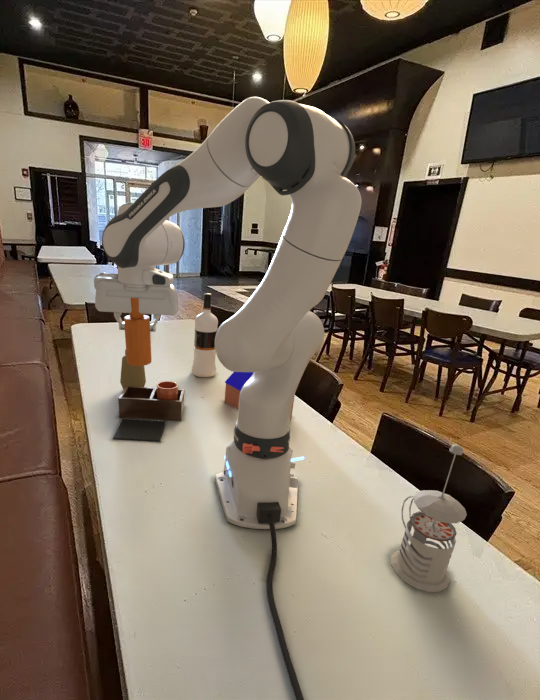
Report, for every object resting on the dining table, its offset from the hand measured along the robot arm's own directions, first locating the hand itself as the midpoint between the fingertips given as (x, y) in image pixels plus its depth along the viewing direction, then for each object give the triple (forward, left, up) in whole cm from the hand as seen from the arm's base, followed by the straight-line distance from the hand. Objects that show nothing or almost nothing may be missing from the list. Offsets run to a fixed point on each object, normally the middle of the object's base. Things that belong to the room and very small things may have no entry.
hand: (138, 330), depth 106 cm
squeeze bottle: (+21, +6, -27) cm, 34 cm away
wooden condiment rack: (+7, -3, -27) cm, 27 cm away
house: (+13, -34, -27) cm, 45 cm away
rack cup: (+7, -7, -27) cm, 28 cm away
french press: (-49, -58, -27) cm, 80 cm away
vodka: (+42, -16, -27) cm, 52 cm away
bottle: (0, 0, -8) cm, 9 cm away
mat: (-4, -1, -27) cm, 27 cm away
